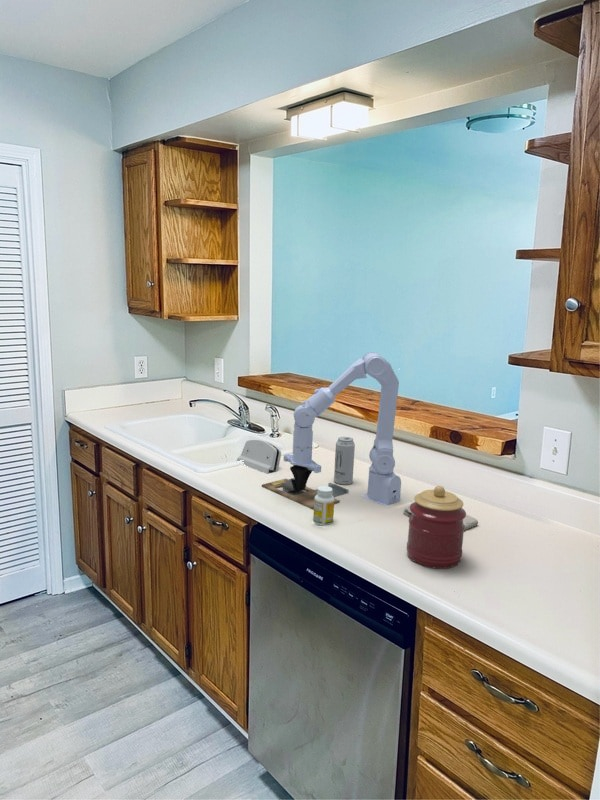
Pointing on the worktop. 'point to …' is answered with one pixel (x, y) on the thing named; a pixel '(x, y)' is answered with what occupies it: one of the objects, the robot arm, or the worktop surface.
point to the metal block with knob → (289, 485)
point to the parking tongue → (337, 490)
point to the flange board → (302, 498)
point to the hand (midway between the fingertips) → (300, 489)
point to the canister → (436, 528)
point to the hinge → (260, 456)
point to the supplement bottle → (323, 506)
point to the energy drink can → (344, 461)
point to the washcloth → (467, 521)
